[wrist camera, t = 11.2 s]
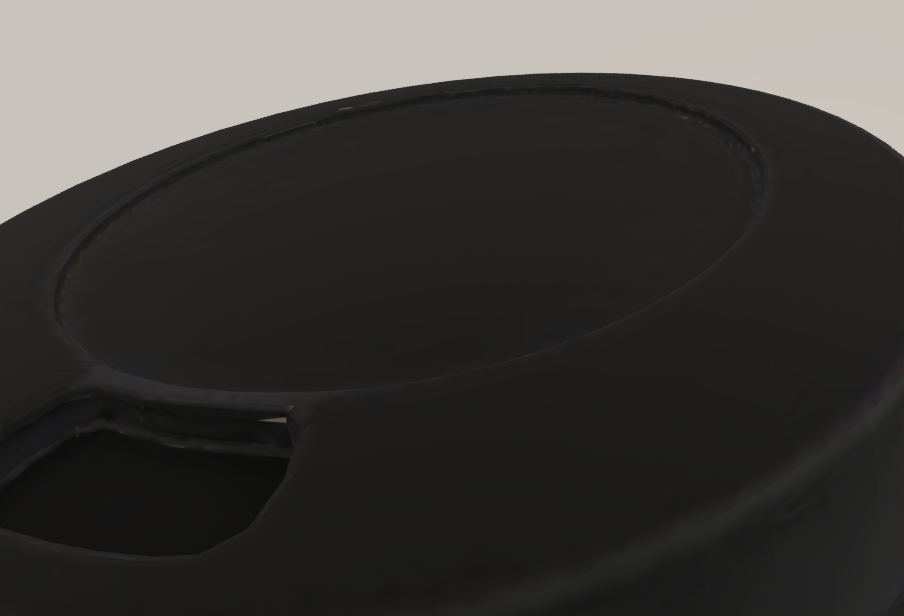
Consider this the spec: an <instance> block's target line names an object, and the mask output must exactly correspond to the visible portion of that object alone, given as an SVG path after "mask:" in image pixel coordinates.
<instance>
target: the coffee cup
mask: <svg viewBox="0 0 904 616" xmlns="http://www.w3.org/2000/svg"><path fill="white" fill-rule="evenodd" d="M0 616H904V157H903V156H902V155H901V154H899V153H898V152H897V151H896V150H894V149H893V148H892V147H890V146H889V145H888V144H887V143H885V142H884V141H882V140H880V139H879V138H877V137H875V136H874V135H872V134H871V133H869V132H867V131H866V130H864V129H862V128H860V127H858V126H856V125H854V124H852V123H850V122H848V121H846V120H844V119H842V118H840V117H838V116H835V115H832V114H830V113H827V112H825V111H822V110H820V109H818V108H815V107H812V106H809V105H806V104H803V103H800V102H797V101H793V100H791V99H787V98H784V97H780V96H776V95H772V94H768V93H765V92H760V91H756V90H751V89H747V88H742V87H737V86H732V85H726V84H720V83H714V82H707V81H701V80H693V79H685V78H675V77H664V76H651V75H637V74H619V73H618V74H617V73H549V74H525V75H509V76H494V77H485V78H474V79H464V80H454V81H445V82H438V83H432V84H424V85H417V86H409V87H403V88H397V89H391V90H386V91H379V92H373V93H368V94H362V95H357V96H353V97H348V98H343V99H338V100H333V101H328V102H324V103H319V104H315V105H311V106H307V107H303V108H299V109H294V110H290V111H286V112H282V113H278V114H274V115H271V116H267V117H264V118H260V119H257V120H253V121H250V122H246V123H243V124H239V125H236V126H232V127H229V128H225V129H222V130H218V131H215V132H212V133H210V134H206V135H203V136H200V137H198V138H195V139H191V140H189V141H186V142H182V143H180V144H176V145H174V146H171V147H168V148H166V149H163V150H160V151H158V152H155V153H152V154H149V155H147V156H144V157H142V158H139V159H136V160H134V161H131V162H129V163H126V164H124V165H122V166H119V167H117V168H115V169H112V170H110V171H108V172H105V173H103V174H101V175H98V176H96V177H94V178H92V179H89V180H87V181H84V182H82V183H80V184H77V185H75V186H73V187H71V188H69V189H67V190H65V191H63V192H61V193H59V194H57V195H55V196H53V197H51V198H49V199H47V200H45V201H43V202H41V203H39V204H38V205H35V206H33V207H32V208H29V209H27V210H26V211H24V212H22V213H20V214H18V215H16V216H15V217H13V218H11V219H9V220H8V221H6V222H4V223H2V224H1V225H0Z"/></svg>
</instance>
